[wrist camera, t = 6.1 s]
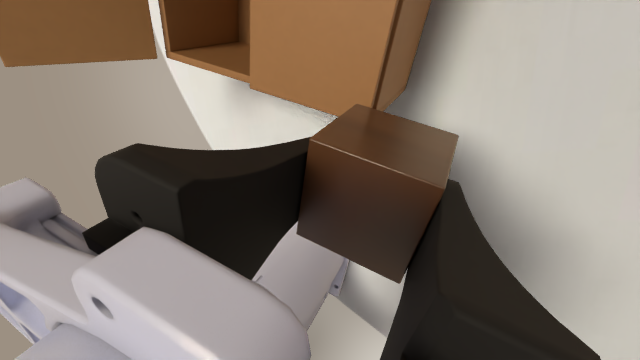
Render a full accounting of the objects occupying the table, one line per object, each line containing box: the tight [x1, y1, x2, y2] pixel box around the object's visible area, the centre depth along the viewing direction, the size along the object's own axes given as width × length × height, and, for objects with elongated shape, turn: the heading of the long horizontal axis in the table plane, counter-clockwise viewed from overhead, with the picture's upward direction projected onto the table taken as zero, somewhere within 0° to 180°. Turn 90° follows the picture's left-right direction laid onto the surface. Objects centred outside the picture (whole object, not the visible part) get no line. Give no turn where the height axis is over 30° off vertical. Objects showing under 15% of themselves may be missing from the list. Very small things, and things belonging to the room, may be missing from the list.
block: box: [296, 104, 459, 283], centre depth 11 cm, size 4×4×4 cm
